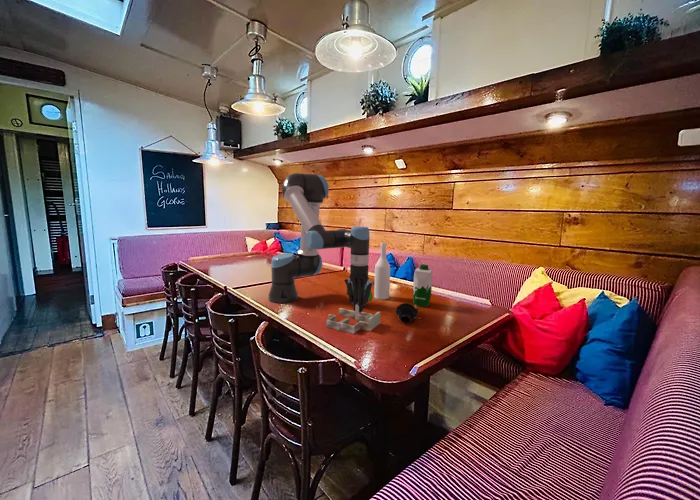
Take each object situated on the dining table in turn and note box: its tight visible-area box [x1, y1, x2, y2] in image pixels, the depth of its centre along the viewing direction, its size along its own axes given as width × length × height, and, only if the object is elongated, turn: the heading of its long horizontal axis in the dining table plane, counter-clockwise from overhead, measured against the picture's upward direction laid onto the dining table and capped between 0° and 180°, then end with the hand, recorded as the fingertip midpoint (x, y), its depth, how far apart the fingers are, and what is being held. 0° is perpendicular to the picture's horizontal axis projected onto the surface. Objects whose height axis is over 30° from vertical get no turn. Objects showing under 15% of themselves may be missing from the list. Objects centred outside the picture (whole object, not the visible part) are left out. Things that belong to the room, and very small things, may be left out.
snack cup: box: [346, 282, 373, 307], centre depth 154 cm, size 16×10×10 cm
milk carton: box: [412, 264, 433, 308], centre depth 155 cm, size 9×9×20 cm
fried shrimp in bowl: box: [395, 303, 420, 325], centre depth 137 cm, size 9×11×18 cm
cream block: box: [356, 311, 373, 324], centre depth 129 cm, size 4×4×4 cm
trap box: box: [325, 307, 381, 335], centre depth 129 cm, size 20×16×5 cm
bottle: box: [373, 241, 391, 301], centre depth 165 cm, size 8×8×30 cm
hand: (358, 318), depth 131 cm, fingers closed
